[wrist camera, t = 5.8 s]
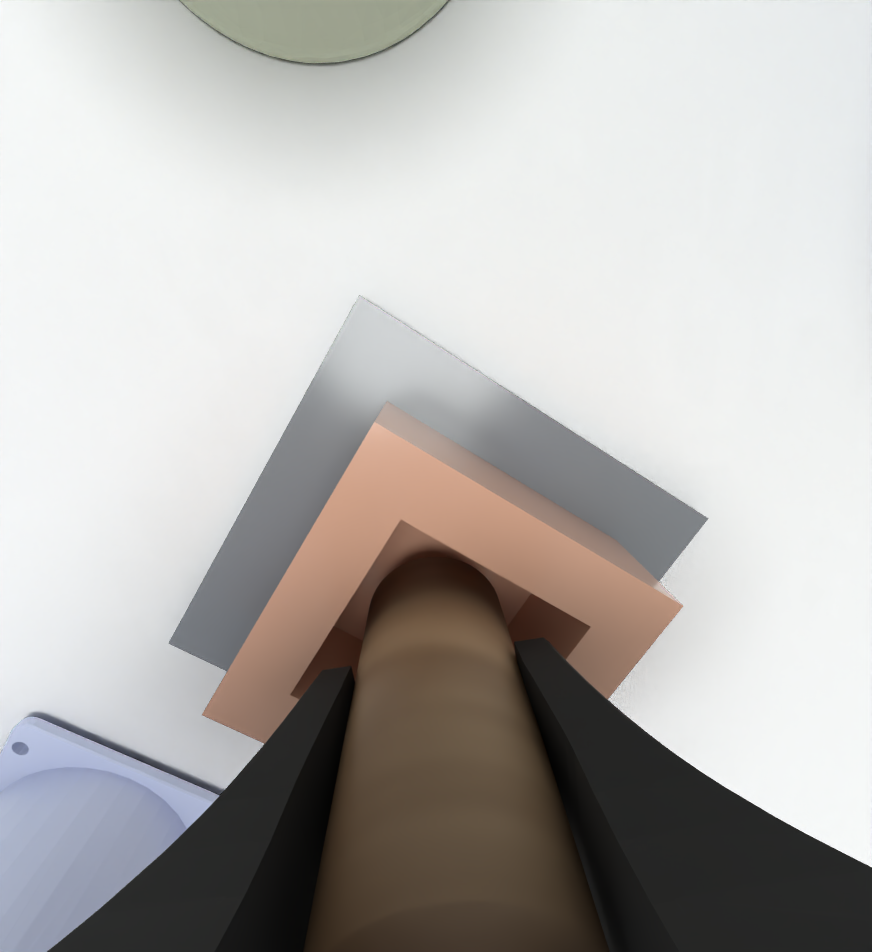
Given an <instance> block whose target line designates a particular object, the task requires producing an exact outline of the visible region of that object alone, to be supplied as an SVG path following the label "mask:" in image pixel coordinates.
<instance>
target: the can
mask: <svg viewBox="0 0 872 952" xmlns="http://www.w3.org/2000/svg"><path fill="white" fill-rule="evenodd" d="M180 1H181V2H182V3H183V4H184V5H185V6H186V7H187V8H189V9H190V10H191V11H192V12H193V13H194V14H195V15H197V16H198V17H199V18H200V19H202V20H203V21H204V22H206V23H207V24H208V25H210V26H211V27H213V28H214V29H216V30H217V31H219V32H220V33H222V34H224V35H225V36H227V37H228V38H230V39H232V40H234V41H236V42H238V43H240V44H242V45H244V46H246V47H248V48H250V49H253V50H256V51H258V52H261V53H263V54H266V55H268V56H272V57H277V58H281V59H285V60H290V61H296V62H305V63H330V62H343V61H347V60H352V59H356V58H361V57H365V56H368V55H371V54H373V53H376V52H379V51H381V50H384V49H386V48H388V47H390V46H392V45H393V44H395V43H397V42H399V41H401V40H403V39H405V38H406V37H407V36H409V35H410V34H412V33H413V32H414V31H416V30H417V29H419V28H420V27H421V26H422V25H424V24H425V23H426V22H427V21H428V20H429V19H430V18H431V17H433V16H434V15H435V14H436V13H437V12H438V11H439V10H440V9H441V8H442V6H443V5H444V4H445V3H446V2H447V1H448V0H180Z"/></svg>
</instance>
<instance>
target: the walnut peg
mask: <svg viewBox="0 0 872 952" xmlns="http://www.w3.org/2000/svg"><path fill="white" fill-rule="evenodd" d="M303 952H610V951H609V948H608V944H607V941H606V938H605V935H604V932H603V929H602V925H601V922H600V919H599V916H598V913H597V910H596V906H595V903H594V900H593V897H592V894H591V891H590V887H589V884H588V881H587V878H586V875H585V871H584V868H583V865H582V862H581V859H580V856H579V852H578V849H577V846H576V843H575V840H574V837H573V833H572V830H571V827H570V824H569V821H568V818H567V814H566V811H565V808H564V805H563V802H562V799H561V795H560V792H559V789H558V786H557V783H556V780H555V776H554V773H553V770H552V767H551V764H550V761H549V757H548V754H547V751H546V748H545V745H544V741H543V738H542V735H541V732H540V729H539V726H538V723H537V720H536V717H535V714H534V712H533V709H532V706H531V703H530V700H529V698H528V695H527V692H526V689H525V686H524V682H523V679H522V676H521V673H520V670H519V666H518V663H517V660H516V654H515V650H514V646H513V643H512V640H511V637H510V634H509V631H508V627H507V624H506V621H505V618H504V615H503V611H502V608H501V605H500V602H499V599H498V596H497V593H496V591H495V589H494V587H493V586H492V584H491V583H490V581H489V580H488V579H487V578H486V577H485V576H484V575H483V574H482V573H481V572H480V571H478V570H477V569H475V568H474V567H472V566H471V565H469V564H467V563H465V562H462V561H459V560H456V559H453V558H448V557H425V558H419V559H416V560H412V561H409V562H407V563H405V564H403V565H401V566H399V567H398V568H396V569H394V570H393V571H392V572H391V573H389V574H388V575H387V576H386V577H385V578H384V579H383V580H382V581H381V583H380V584H379V585H378V587H377V589H376V590H375V592H374V594H373V597H372V599H371V602H370V607H369V612H368V617H367V622H366V627H365V632H364V638H363V643H362V648H361V653H360V659H359V664H358V669H357V674H356V679H355V685H354V690H353V695H352V700H351V706H350V711H349V716H348V721H347V726H346V731H345V737H344V742H343V747H342V752H341V758H340V763H339V768H338V773H337V778H336V784H335V789H334V794H333V799H332V804H331V810H330V815H329V820H328V825H327V830H326V836H325V841H324V846H323V851H322V857H321V862H320V867H319V872H318V877H317V883H316V888H315V893H314V898H313V903H312V909H311V914H310V919H309V924H308V930H307V935H306V940H305V945H304V950H303Z"/></svg>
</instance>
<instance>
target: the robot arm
mask: <svg viewBox="0 0 872 952" xmlns="http://www.w3.org/2000/svg"><path fill="white" fill-rule="evenodd" d="M514 646H515V654H516V660H517V663H518V666H519V670H520V673H521V676H522V679H523V682H524V686H525V689H526V692H527V695H528V698H529V700H530V703H531V706H532V709H533V712H534V714H535V717H536V720H537V723H538V726H539V729H540V732H541V735H542V738H543V741H544V745H545V748H546V751H547V754H548V757H549V761H550V764H551V767H552V770H553V773H554V776H555V780H556V783H557V786H558V789H559V792H560V795H561V799H562V802H563V805H564V808H565V811H566V814H567V818H568V821H569V824H570V827H571V830H572V833H573V837H574V840H575V843H576V846H577V849H578V852H579V856H580V859H581V862H582V865H583V868H584V871H585V875H586V878H587V881H588V884H589V887H590V891H591V894H592V897H593V900H594V903H595V906H596V910H597V913H598V916H599V919H600V922H601V925H602V929H603V932H604V935H605V938H606V941H607V944H608V948H609V951H610V952H872V867H870V866H868V865H866V864H864V863H862V862H860V861H858V860H856V859H854V858H852V857H850V856H848V855H846V854H844V853H842V852H840V851H838V850H836V849H834V848H832V847H830V846H829V845H827V844H825V843H823V842H821V841H819V840H817V839H815V838H813V837H811V836H809V835H807V834H805V833H803V832H802V831H800V830H798V829H796V828H794V827H792V826H791V825H789V824H787V823H785V822H783V821H782V820H780V819H778V818H776V817H774V816H773V815H771V814H769V813H768V812H766V811H764V810H762V809H761V808H759V807H757V806H756V805H754V804H752V803H751V802H749V801H747V800H746V799H744V798H742V797H741V796H739V795H737V794H735V793H734V792H732V791H730V790H729V789H727V788H725V787H724V786H722V785H721V784H719V783H717V782H716V781H714V780H713V779H711V778H710V777H708V776H706V775H705V774H703V773H702V772H700V771H699V770H697V769H696V768H695V767H693V766H692V765H690V764H689V763H687V762H686V761H684V760H683V759H682V758H680V757H679V756H677V755H676V754H674V753H673V752H672V751H670V750H669V749H668V748H666V747H665V746H664V745H662V744H661V743H660V742H658V741H657V740H656V739H654V738H653V737H652V736H651V735H649V734H648V733H647V732H645V731H644V730H643V729H642V728H641V727H639V726H638V725H637V724H636V723H634V722H633V721H632V720H631V719H629V718H628V717H627V716H626V715H625V714H623V713H622V712H621V711H620V710H619V709H618V708H616V707H615V706H614V705H613V704H612V703H611V702H610V701H609V700H607V699H606V698H605V697H604V696H603V695H602V694H601V693H600V692H599V691H597V690H596V689H595V688H594V687H593V686H592V685H591V684H590V683H589V682H588V681H587V680H586V679H585V678H584V677H583V676H581V675H580V674H579V673H578V672H577V671H576V670H575V669H574V668H573V667H572V666H571V665H570V664H569V663H568V662H567V660H566V659H565V658H564V657H563V656H562V655H561V654H560V653H559V652H558V651H557V650H556V649H555V648H554V647H553V646H552V644H551V643H550V642H549V641H547V640H546V639H545V638H544V637H542V638H536V639H529V640H522V641H515V642H514ZM354 685H355V680H354V675H353V671H352V666H346V667H339V668H333V669H326V670H322V671H321V672H320V674H319V675H318V676H317V677H316V679H315V680H314V681H313V683H312V684H311V685H310V686H309V688H308V689H307V690H306V692H305V693H304V694H303V696H302V697H301V698H300V699H299V701H298V702H297V703H296V705H295V706H294V707H293V709H292V710H291V711H290V713H289V714H288V715H287V716H286V718H285V719H284V720H283V722H282V723H281V724H280V725H279V727H278V728H277V729H276V730H275V732H274V733H273V734H272V735H271V737H270V738H269V739H268V740H267V742H266V743H265V744H264V745H263V747H262V748H261V749H260V750H259V752H258V753H257V754H256V755H255V756H254V757H253V758H252V760H251V761H250V762H249V763H248V764H247V765H246V766H245V768H244V769H243V770H242V771H241V772H240V773H239V774H238V776H237V777H236V778H235V779H234V780H233V781H232V783H231V784H230V785H229V786H228V787H227V788H226V789H225V791H224V792H223V793H222V794H221V795H218V794H215V793H213V792H211V791H208V790H206V789H204V788H201V787H199V786H197V785H194V784H192V783H190V782H187V781H185V780H183V779H180V778H178V777H176V776H173V775H171V774H169V773H166V772H164V771H162V770H159V769H157V768H155V767H152V766H150V765H148V764H145V763H143V762H141V761H138V760H136V759H134V758H131V757H129V756H127V755H124V754H122V753H120V752H117V751H115V750H113V749H110V748H108V747H106V746H103V745H101V744H99V743H96V742H94V741H92V740H89V739H87V738H85V737H82V736H80V735H78V734H75V733H73V732H71V731H68V730H66V729H64V728H61V727H59V726H57V725H54V724H52V723H50V722H47V721H45V720H43V719H40V718H37V717H26V718H24V719H22V720H21V721H20V722H19V723H18V724H17V725H16V726H15V727H14V728H13V729H12V731H11V733H10V735H9V737H8V739H7V741H6V743H5V745H4V747H3V749H2V751H1V753H0V952H303V950H304V945H305V940H306V935H307V930H308V924H309V919H310V914H311V909H312V903H313V898H314V893H315V888H316V883H317V877H318V872H319V867H320V862H321V857H322V851H323V846H324V841H325V836H326V830H327V825H328V820H329V815H330V810H331V804H332V799H333V794H334V789H335V784H336V778H337V773H338V768H339V763H340V758H341V752H342V747H343V742H344V737H345V731H346V726H347V721H348V716H349V711H350V706H351V700H352V695H353V690H354Z"/></svg>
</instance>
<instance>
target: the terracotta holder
mask: <svg viewBox="0 0 872 952" xmlns="http://www.w3.org/2000/svg"><path fill="white" fill-rule="evenodd" d="M707 520H708V518H706V517H705V516H703V515H702V514H700V513H699V512H697V511H696V510H694V509H692V508H691V507H689V506H688V505H686V504H685V503H683V502H682V501H680V500H678V499H677V498H675V497H674V496H672V495H671V494H669V493H667V492H666V491H664V490H663V489H661V488H660V487H658V486H657V485H655V484H653V483H652V482H650V481H649V480H647V479H646V478H644V477H642V476H641V475H639V474H638V473H636V472H635V471H633V470H632V469H630V468H628V467H627V466H625V465H624V464H622V463H621V462H619V461H617V460H616V459H614V458H613V457H611V456H610V455H608V454H607V453H605V452H603V451H602V450H600V449H599V448H597V447H596V446H594V445H593V444H591V443H589V442H588V441H586V440H585V439H583V438H582V437H580V436H578V435H577V434H575V433H574V432H572V431H571V430H569V429H568V428H566V427H564V426H563V425H561V424H560V423H558V422H557V421H555V420H553V419H552V418H550V417H549V416H547V415H546V414H544V413H543V412H541V411H539V410H538V409H536V408H535V407H533V406H532V405H530V404H528V403H527V402H525V401H524V400H522V399H521V398H519V397H518V396H516V395H514V394H513V393H511V392H510V391H508V390H507V389H505V388H503V387H502V386H500V385H499V384H497V383H496V382H494V381H493V380H491V379H489V378H488V377H486V376H485V375H483V374H482V373H480V372H479V371H477V370H475V369H474V368H472V367H471V366H469V365H468V364H466V363H464V362H463V361H461V360H460V359H458V358H457V357H455V356H454V355H452V354H450V353H449V352H447V351H446V350H444V349H443V348H441V347H439V346H438V345H436V344H435V343H433V342H432V341H430V340H429V339H427V338H425V337H424V336H422V335H421V334H419V333H418V332H416V331H414V330H413V329H411V328H410V327H408V326H407V325H405V324H404V323H402V322H400V321H399V320H397V319H396V318H394V317H393V316H391V315H390V314H388V313H386V312H385V311H383V310H382V309H380V308H379V307H377V306H375V305H374V304H372V303H371V302H369V301H368V300H366V299H365V298H363V297H361V296H360V295H359V297H358V298H357V300H356V302H355V304H354V306H353V307H352V309H351V311H350V313H349V315H348V317H347V318H346V320H345V322H344V324H343V326H342V328H341V329H340V331H339V333H338V335H337V337H336V338H335V340H334V342H333V344H332V346H331V348H330V349H329V351H328V353H327V355H326V357H325V359H324V360H323V362H322V364H321V366H320V368H319V370H318V371H317V373H316V375H315V377H314V379H313V380H312V382H311V384H310V386H309V388H308V390H307V391H306V393H305V395H304V397H303V399H302V401H301V402H300V404H299V406H298V408H297V410H296V411H295V413H294V415H293V417H292V419H291V421H290V422H289V424H288V426H287V428H286V430H285V432H284V433H283V435H282V437H281V439H280V441H279V443H278V444H277V446H276V448H275V450H274V452H273V453H272V455H271V457H270V459H269V461H268V463H267V464H266V466H265V468H264V470H263V472H262V474H261V475H260V477H259V479H258V481H257V483H256V484H255V486H254V488H253V490H252V492H251V494H250V495H249V497H248V499H247V501H246V503H245V505H244V506H243V508H242V510H241V512H240V514H239V515H238V517H237V519H236V521H235V523H234V525H233V526H232V528H231V530H230V532H229V534H228V536H227V537H226V539H225V541H224V543H223V545H222V547H221V548H220V550H219V552H218V554H217V556H216V557H215V559H214V561H213V563H212V565H211V567H210V568H209V570H208V572H207V574H206V576H205V578H204V579H203V581H202V583H201V585H200V587H199V588H198V590H197V592H196V594H195V596H194V598H193V599H192V601H191V603H190V605H189V607H188V609H187V610H186V612H185V614H184V616H183V618H182V620H181V621H180V623H179V625H178V627H177V629H176V630H175V632H174V634H173V636H172V638H171V640H170V641H169V644H171V645H173V646H175V647H177V648H179V649H181V650H183V651H186V652H188V653H190V654H192V655H194V656H196V657H198V658H200V659H202V660H205V661H207V662H209V663H211V664H213V665H215V666H217V667H219V668H221V669H224V670H226V671H227V673H226V675H225V676H224V678H223V680H222V681H221V683H220V685H219V687H218V688H217V690H216V692H215V693H214V695H213V697H212V698H211V700H210V702H209V704H208V705H207V707H206V709H205V710H204V712H203V714H202V715H203V716H205V717H207V718H209V719H212V720H214V721H216V722H218V723H220V724H223V725H225V726H227V727H229V728H231V729H234V730H236V731H238V732H240V733H242V734H245V735H247V736H249V737H251V738H253V739H256V740H258V741H260V742H262V743H264V744H265V743H266V742H267V740H268V739H269V738H270V737H271V735H272V734H273V733H274V732H275V730H276V729H277V728H278V727H279V725H280V724H281V723H282V722H283V720H284V719H285V718H286V716H287V715H288V714H289V713H290V711H291V710H292V709H293V707H294V706H295V705H296V703H297V702H298V701H299V699H300V698H301V697H302V696H303V694H304V693H305V692H306V690H307V689H308V688H309V686H310V685H311V684H312V683H313V681H314V680H315V679H316V677H317V676H318V675H319V674H320V672H321V671H322V670H326V669H333V668H339V667H346V666H352V671H353V675H354V680H355V679H356V674H357V669H358V664H359V659H360V653H361V648H362V643H363V638H364V632H365V627H366V622H367V617H368V612H369V607H370V602H371V599H372V597H373V594H374V592H375V590H376V589H377V587H378V585H379V584H380V583H381V581H382V580H383V579H384V578H385V577H386V576H387V575H388V574H389V573H391V572H392V571H393V570H394V569H396V568H398V567H399V566H401V565H403V564H405V563H407V562H409V561H412V560H416V559H419V558H425V557H448V558H453V559H456V560H459V561H462V562H465V563H467V564H469V565H471V566H472V567H474V568H475V569H477V570H478V571H480V572H481V573H482V574H483V575H484V576H485V577H486V578H487V579H488V580H489V581H490V583H491V584H492V586H493V587H494V589H495V591H496V593H497V596H498V599H499V602H500V605H501V608H502V611H503V615H504V618H505V621H506V624H507V627H508V631H509V634H510V637H511V640H512V643H513V646H514V642H515V641H522V640H529V639H536V638H542V637H544V638H545V639H546V640H547V641H549V642H550V643H551V644H552V646H553V647H554V648H555V649H556V650H557V651H558V652H559V653H560V654H561V655H562V656H563V657H564V658H565V659H566V660H567V662H568V663H569V664H570V665H571V666H572V667H573V668H574V669H575V670H576V671H577V672H578V673H579V674H580V675H581V676H583V677H584V678H585V679H586V680H587V681H588V682H589V683H590V684H591V685H592V686H593V687H594V688H595V689H596V690H597V691H599V692H600V693H601V694H602V695H603V696H604V697H605V698H606V699H607V700H608V698H609V697H610V696H611V695H612V693H613V692H614V691H615V690H616V688H617V687H618V686H619V685H620V684H621V682H622V681H623V680H624V679H625V677H626V676H627V675H628V674H629V672H630V671H631V670H632V669H633V667H634V666H635V665H636V664H637V663H638V661H639V660H640V659H641V658H642V656H643V655H644V654H645V653H646V651H647V650H648V649H649V648H650V646H651V645H652V644H653V643H654V642H655V640H656V639H657V638H658V637H659V635H660V634H661V633H662V632H663V630H664V629H665V628H666V627H667V625H668V624H669V623H670V622H671V621H672V619H673V618H674V617H675V616H676V614H677V613H678V612H679V611H680V609H681V608H682V607H683V605H682V604H681V603H680V602H679V601H678V600H677V599H676V598H675V597H674V596H673V595H672V594H671V593H670V592H669V591H668V590H667V589H666V588H665V587H664V586H663V585H661V584H660V583H659V581H660V579H661V578H662V577H663V576H664V574H665V573H666V572H667V570H668V569H669V568H670V567H671V565H672V564H673V563H674V562H675V560H676V559H677V558H678V556H679V555H680V554H681V553H682V551H683V550H684V549H685V548H686V546H687V545H688V544H689V542H690V541H691V540H692V539H693V537H694V536H695V535H696V534H697V532H698V531H699V530H700V528H701V527H702V526H703V525H704V523H705V522H706V521H707ZM514 650H515V646H514Z"/></svg>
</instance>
